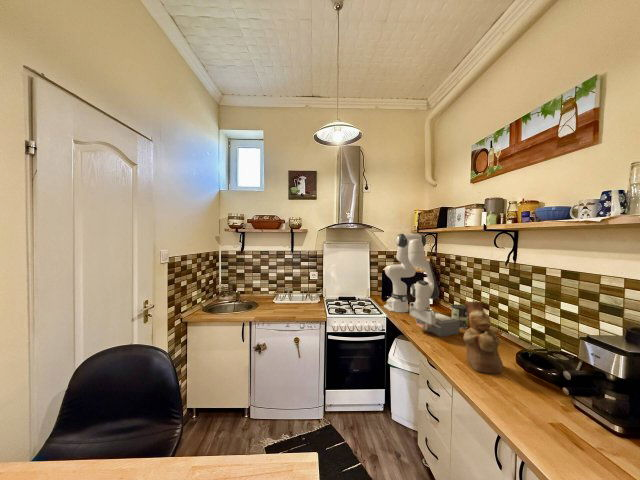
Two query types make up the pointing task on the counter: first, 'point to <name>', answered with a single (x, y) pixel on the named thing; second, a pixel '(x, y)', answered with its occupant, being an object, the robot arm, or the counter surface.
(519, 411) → the counter surface
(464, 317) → the coffee can
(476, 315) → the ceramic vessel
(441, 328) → the dispenser
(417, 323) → the ticket
